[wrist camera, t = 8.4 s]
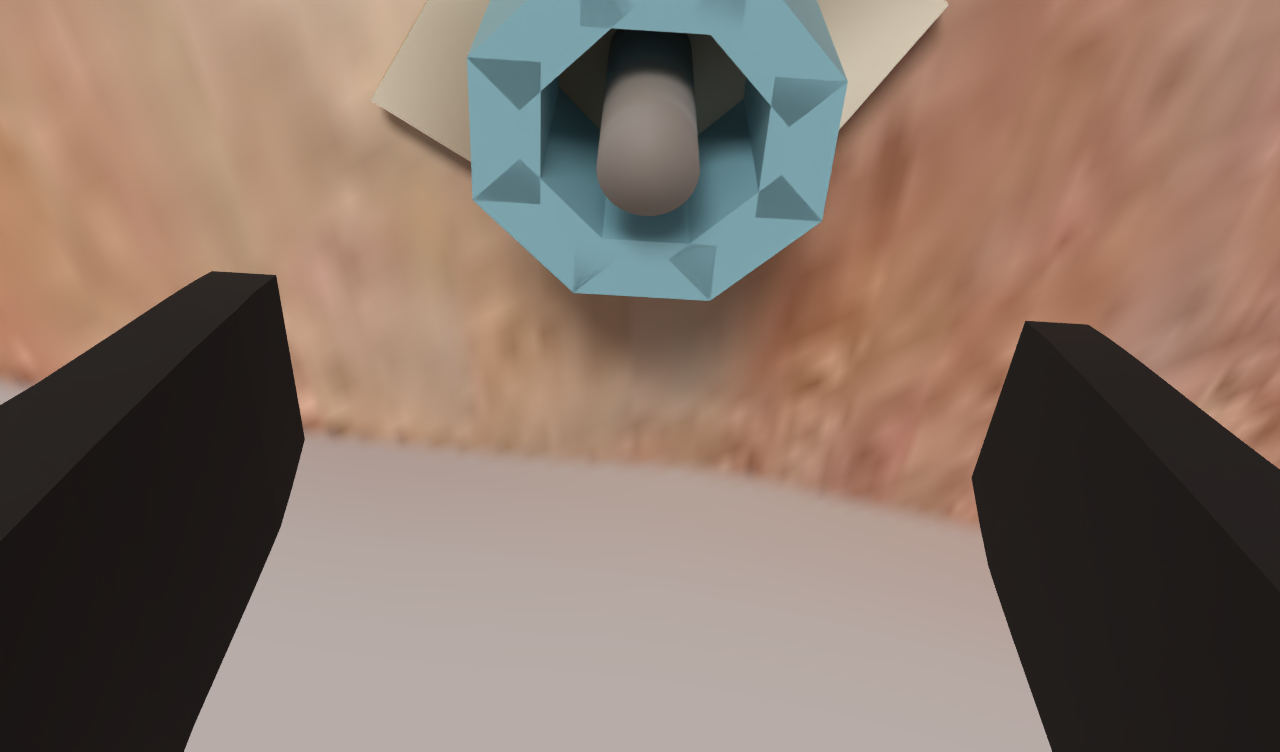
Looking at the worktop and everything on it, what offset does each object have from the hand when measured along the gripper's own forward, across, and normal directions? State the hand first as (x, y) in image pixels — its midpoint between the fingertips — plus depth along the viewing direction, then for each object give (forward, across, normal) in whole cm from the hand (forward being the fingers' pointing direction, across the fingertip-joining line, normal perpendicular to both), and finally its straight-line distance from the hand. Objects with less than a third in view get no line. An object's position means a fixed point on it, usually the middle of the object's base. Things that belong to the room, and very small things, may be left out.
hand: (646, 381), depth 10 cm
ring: (+9, 0, 0) cm, 9 cm away
